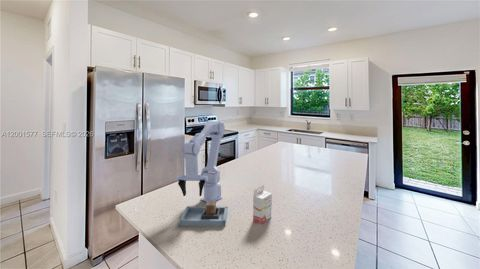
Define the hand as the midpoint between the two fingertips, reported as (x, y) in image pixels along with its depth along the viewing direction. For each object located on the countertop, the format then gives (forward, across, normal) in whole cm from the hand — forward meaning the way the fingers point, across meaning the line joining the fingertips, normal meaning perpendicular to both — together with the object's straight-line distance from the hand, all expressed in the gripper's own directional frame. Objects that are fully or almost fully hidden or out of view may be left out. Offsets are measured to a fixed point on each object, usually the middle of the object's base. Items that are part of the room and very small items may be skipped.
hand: (192, 195), depth 100 cm
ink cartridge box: (+10, +33, -4) cm, 35 cm away
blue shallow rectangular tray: (+9, +6, -4) cm, 12 cm away
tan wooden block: (+9, +9, -4) cm, 14 cm away
